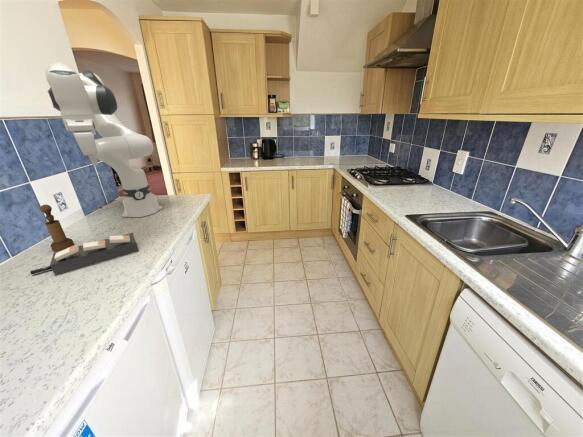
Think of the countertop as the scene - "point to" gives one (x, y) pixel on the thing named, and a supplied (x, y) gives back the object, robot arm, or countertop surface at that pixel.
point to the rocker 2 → (119, 238)
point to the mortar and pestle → (56, 231)
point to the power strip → (90, 256)
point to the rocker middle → (94, 245)
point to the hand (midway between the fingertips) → (95, 165)
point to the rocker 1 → (66, 252)
